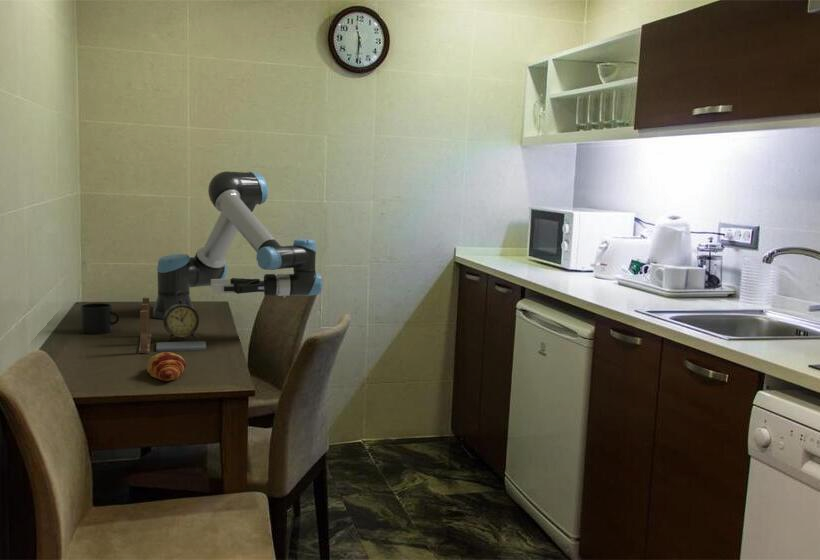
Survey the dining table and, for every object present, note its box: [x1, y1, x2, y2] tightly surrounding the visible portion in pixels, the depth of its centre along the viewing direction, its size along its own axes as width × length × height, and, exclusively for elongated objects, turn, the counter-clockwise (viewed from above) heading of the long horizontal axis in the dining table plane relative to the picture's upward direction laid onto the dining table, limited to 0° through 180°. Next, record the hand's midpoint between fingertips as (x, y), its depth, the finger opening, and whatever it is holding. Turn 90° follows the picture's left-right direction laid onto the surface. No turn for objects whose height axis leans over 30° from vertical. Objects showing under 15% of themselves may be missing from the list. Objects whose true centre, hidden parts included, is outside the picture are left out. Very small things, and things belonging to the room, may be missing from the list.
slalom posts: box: [138, 297, 152, 354], centre depth 241 cm, size 26×3×13 cm, turn 18°
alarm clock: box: [162, 291, 200, 342], centre depth 249 cm, size 11×5×16 cm, turn 117°
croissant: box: [146, 351, 187, 382], centre depth 207 cm, size 21×10×8 cm, turn 23°
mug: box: [80, 302, 120, 335], centre depth 257 cm, size 9×12×9 cm
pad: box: [155, 340, 208, 352], centre depth 239 cm, size 9×15×1 cm, turn 108°
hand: (211, 285), depth 251 cm, fingers open, 13 cm apart
